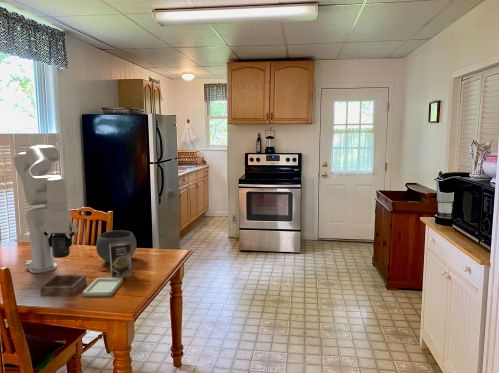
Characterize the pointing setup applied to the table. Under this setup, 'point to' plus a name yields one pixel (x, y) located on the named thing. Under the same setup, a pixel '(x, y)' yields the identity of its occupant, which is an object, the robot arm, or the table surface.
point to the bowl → (114, 237)
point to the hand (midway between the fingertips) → (60, 246)
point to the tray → (102, 287)
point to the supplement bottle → (59, 245)
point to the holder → (51, 290)
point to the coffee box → (120, 260)
